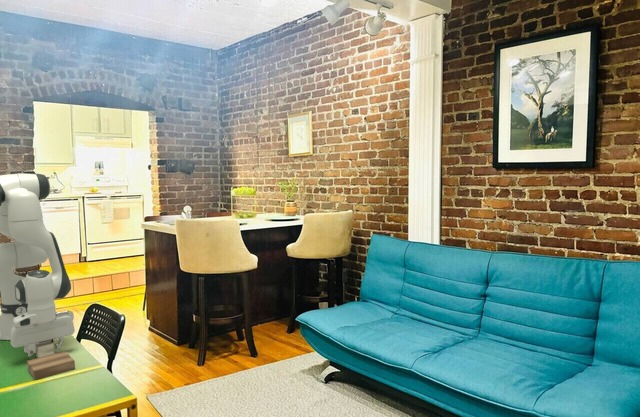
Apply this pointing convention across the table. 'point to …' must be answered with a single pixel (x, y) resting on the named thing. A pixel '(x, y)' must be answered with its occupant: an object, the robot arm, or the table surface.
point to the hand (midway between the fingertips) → (44, 352)
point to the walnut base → (50, 365)
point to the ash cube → (44, 349)
